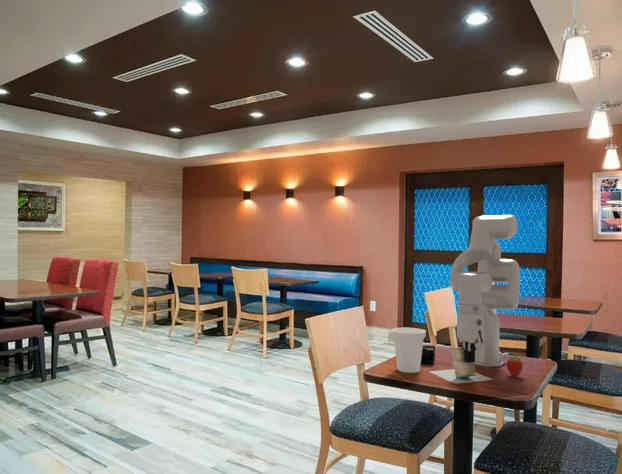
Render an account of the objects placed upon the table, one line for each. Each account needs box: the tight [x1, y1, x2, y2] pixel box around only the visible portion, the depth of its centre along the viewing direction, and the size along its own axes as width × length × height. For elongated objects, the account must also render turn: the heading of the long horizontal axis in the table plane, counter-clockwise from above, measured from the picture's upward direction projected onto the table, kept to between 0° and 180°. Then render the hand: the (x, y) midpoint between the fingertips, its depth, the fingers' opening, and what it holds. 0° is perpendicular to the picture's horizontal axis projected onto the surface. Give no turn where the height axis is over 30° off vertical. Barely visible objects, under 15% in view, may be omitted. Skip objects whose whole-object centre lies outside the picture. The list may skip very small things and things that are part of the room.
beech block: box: [450, 346, 477, 378], centre depth 170 cm, size 5×5×10 cm
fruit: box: [506, 355, 524, 378], centre depth 174 cm, size 5×5×8 cm
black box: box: [420, 345, 436, 366], centre depth 194 cm, size 10×7×7 cm
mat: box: [428, 368, 494, 385], centre depth 174 cm, size 16×16×1 cm
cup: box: [391, 327, 427, 374], centre depth 181 cm, size 12×12×15 cm
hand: (469, 361), depth 167 cm, fingers closed
